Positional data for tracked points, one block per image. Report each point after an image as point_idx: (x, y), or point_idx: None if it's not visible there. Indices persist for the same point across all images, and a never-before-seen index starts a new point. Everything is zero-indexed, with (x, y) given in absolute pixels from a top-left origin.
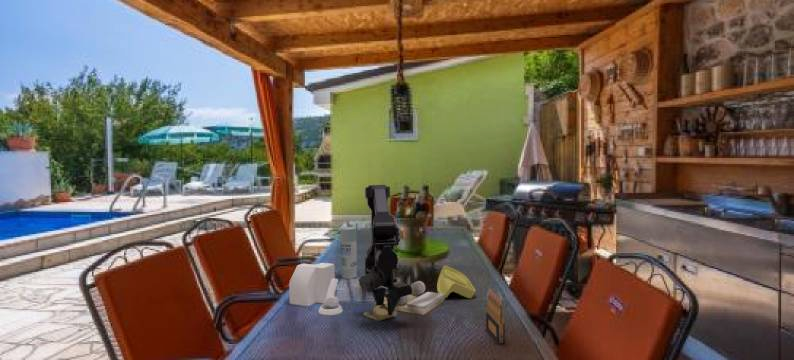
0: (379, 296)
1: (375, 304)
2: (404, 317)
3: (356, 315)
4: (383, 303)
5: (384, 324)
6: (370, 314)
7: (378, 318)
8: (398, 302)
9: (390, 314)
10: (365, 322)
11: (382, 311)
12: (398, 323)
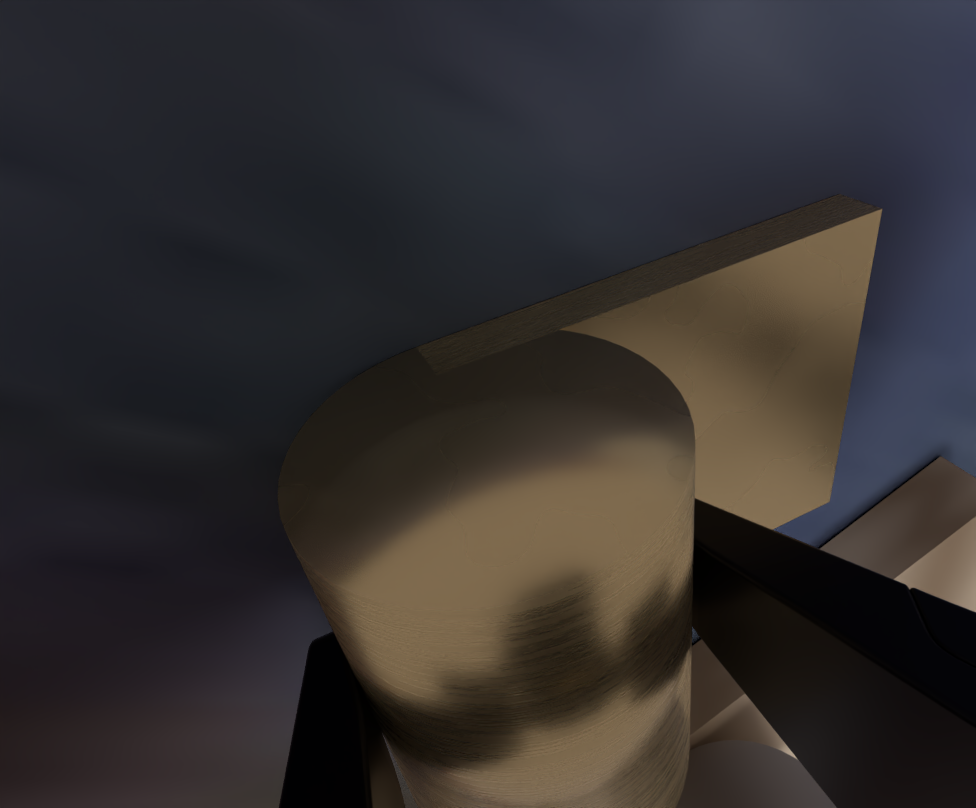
0: (934, 793)
1: (950, 493)
2: None
3: (919, 48)
4: (738, 682)
5: (85, 421)
6: (707, 302)
7: (403, 387)
8: (705, 801)
9: (314, 673)
10: (450, 19)
11: (332, 600)
12: (51, 680)
